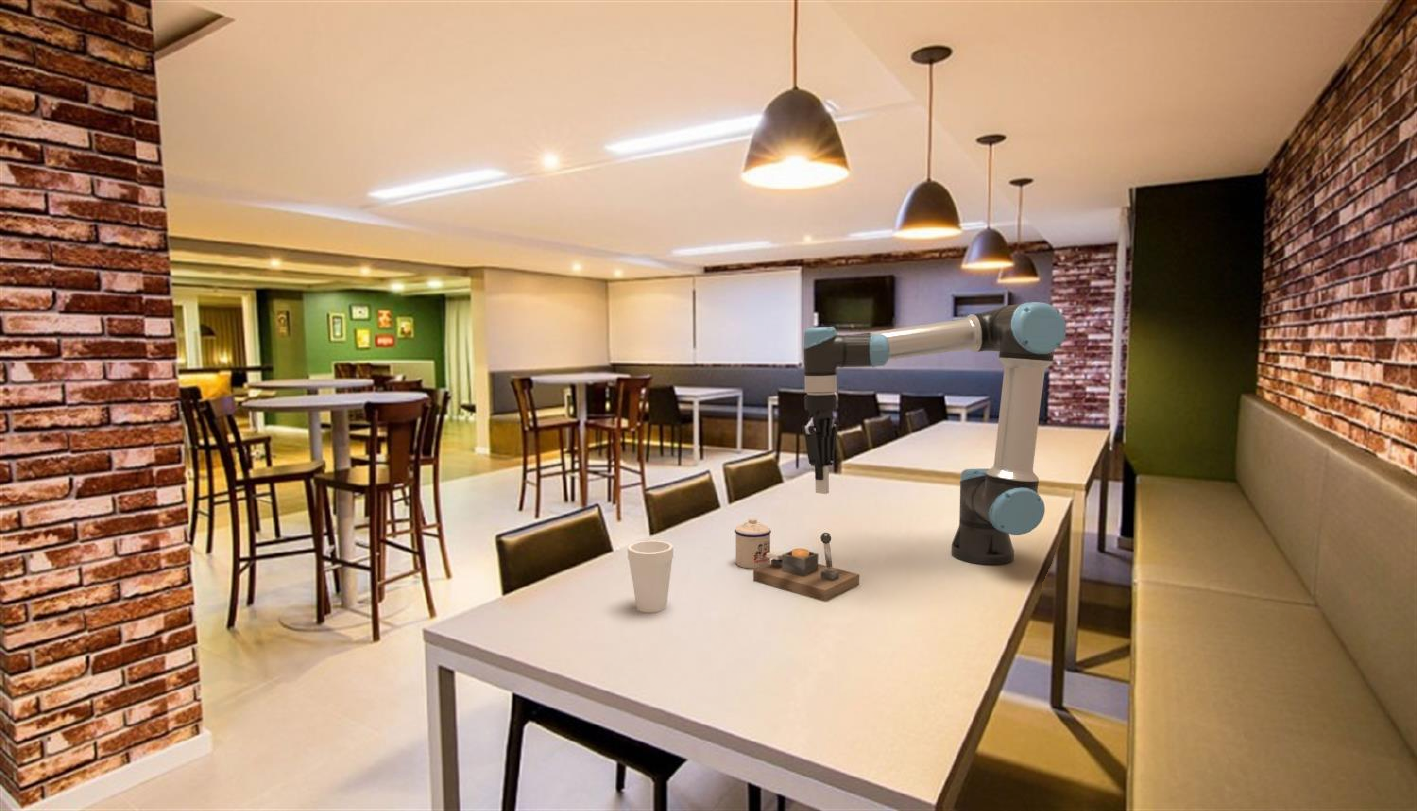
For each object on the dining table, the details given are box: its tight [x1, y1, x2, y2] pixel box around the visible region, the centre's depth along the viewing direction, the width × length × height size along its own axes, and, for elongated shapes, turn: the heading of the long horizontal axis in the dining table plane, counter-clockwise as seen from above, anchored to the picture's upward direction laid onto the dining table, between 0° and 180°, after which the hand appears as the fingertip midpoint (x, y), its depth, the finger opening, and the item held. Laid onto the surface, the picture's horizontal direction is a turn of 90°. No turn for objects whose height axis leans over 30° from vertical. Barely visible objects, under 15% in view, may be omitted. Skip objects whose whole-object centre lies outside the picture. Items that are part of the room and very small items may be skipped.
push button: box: [791, 548, 810, 558], centre depth 161 cm, size 4×4×3 cm
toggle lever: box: [819, 532, 833, 569], centre depth 154 cm, size 2×2×9 cm
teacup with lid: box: [734, 517, 772, 570], centre depth 175 cm, size 12×9×12 cm
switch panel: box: [752, 550, 860, 603], centre depth 160 cm, size 20×14×6 cm
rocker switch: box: [766, 551, 787, 560], centre depth 165 cm, size 3×6×1 cm, turn 138°
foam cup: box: [627, 540, 674, 614], centre depth 145 cm, size 10×9×13 cm
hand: (822, 492), depth 163 cm, fingers closed
